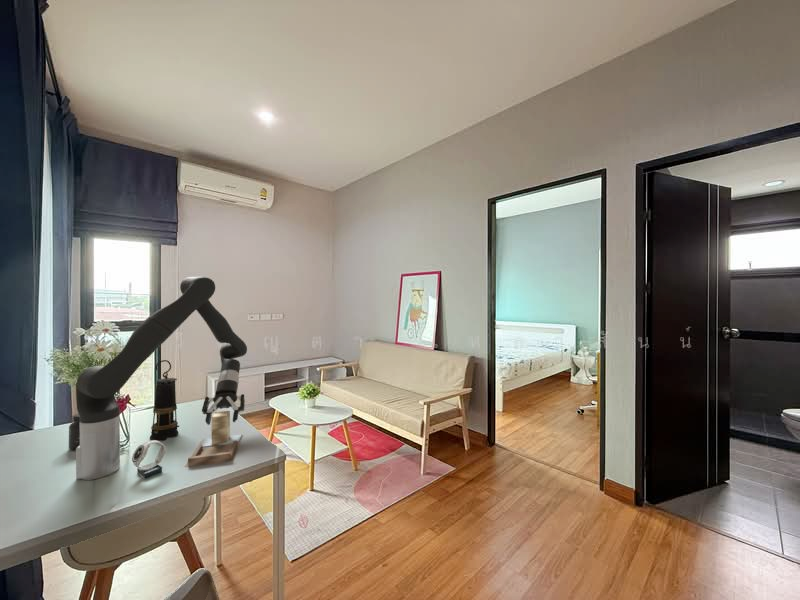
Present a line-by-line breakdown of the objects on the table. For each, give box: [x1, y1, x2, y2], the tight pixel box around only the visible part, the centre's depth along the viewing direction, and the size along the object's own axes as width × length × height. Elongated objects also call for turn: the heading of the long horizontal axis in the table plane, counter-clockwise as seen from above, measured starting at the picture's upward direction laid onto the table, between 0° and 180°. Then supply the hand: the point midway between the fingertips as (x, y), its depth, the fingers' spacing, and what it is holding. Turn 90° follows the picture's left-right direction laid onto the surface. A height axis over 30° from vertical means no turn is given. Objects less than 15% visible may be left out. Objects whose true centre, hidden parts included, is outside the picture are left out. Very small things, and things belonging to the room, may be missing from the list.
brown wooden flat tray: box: [184, 434, 244, 468], centre depth 114 cm, size 14×20×4 cm
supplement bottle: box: [68, 413, 80, 452], centre depth 117 cm, size 7×7×12 cm
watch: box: [131, 440, 167, 480], centre depth 98 cm, size 6×8×11 cm
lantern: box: [149, 359, 180, 442], centre depth 127 cm, size 9×9×30 cm
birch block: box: [211, 410, 231, 444], centre depth 120 cm, size 5×5×10 cm
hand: (221, 422), depth 120 cm, fingers open, 8 cm apart
